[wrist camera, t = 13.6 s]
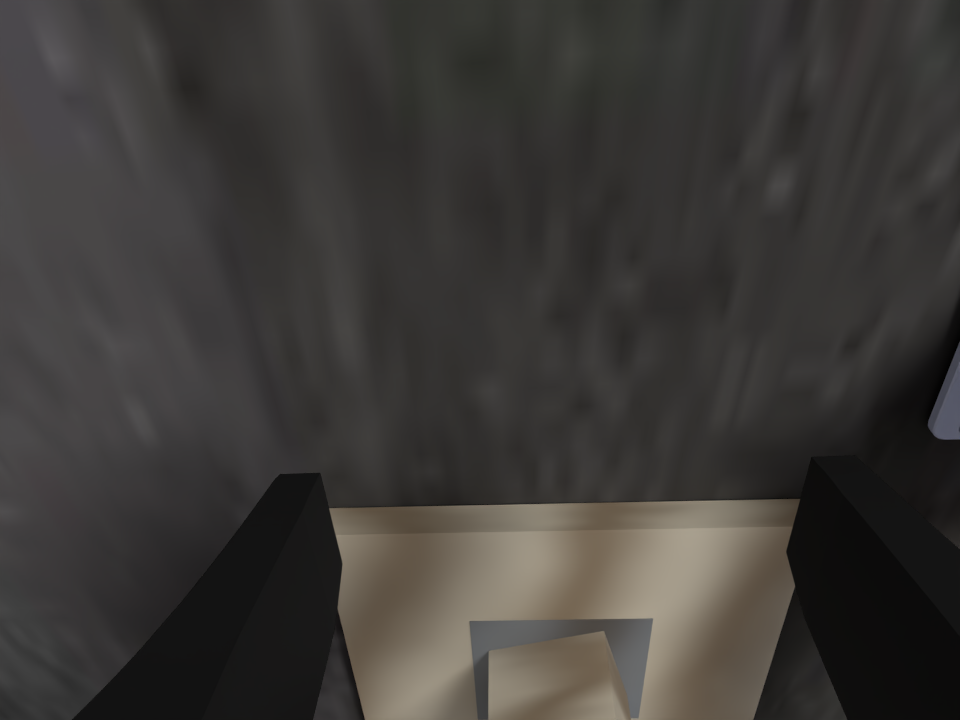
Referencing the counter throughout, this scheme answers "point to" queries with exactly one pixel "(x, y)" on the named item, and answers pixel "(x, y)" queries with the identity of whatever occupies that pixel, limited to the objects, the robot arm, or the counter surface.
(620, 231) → the counter surface
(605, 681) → the block stack
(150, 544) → the counter surface
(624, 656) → the birch board
